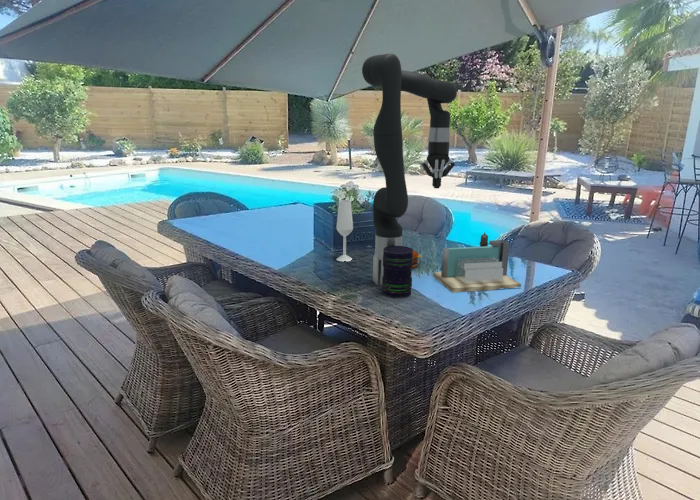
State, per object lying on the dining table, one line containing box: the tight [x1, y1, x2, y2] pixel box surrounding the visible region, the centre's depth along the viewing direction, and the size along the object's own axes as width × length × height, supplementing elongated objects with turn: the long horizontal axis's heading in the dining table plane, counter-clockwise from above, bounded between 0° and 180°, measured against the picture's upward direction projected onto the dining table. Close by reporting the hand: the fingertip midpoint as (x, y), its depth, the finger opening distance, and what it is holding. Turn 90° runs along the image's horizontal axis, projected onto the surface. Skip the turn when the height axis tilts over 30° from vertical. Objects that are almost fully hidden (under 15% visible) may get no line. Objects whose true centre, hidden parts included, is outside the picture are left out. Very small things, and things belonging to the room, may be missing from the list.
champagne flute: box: [335, 199, 354, 262], centre depth 205 cm, size 7×7×24 cm
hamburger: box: [412, 249, 423, 269], centre depth 199 cm, size 9×10×7 cm
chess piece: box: [479, 232, 490, 247], centre depth 206 cm, size 6×6×12 cm
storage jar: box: [381, 245, 414, 299], centre depth 167 cm, size 10×10×15 cm
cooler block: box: [455, 239, 510, 284], centre depth 179 cm, size 20×12×12 cm, turn 102°
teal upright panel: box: [440, 245, 499, 277], centre depth 182 cm, size 21×2×10 cm, turn 102°
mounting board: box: [432, 271, 522, 293], centre depth 181 cm, size 25×18×2 cm
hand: (436, 188), depth 189 cm, fingers closed
